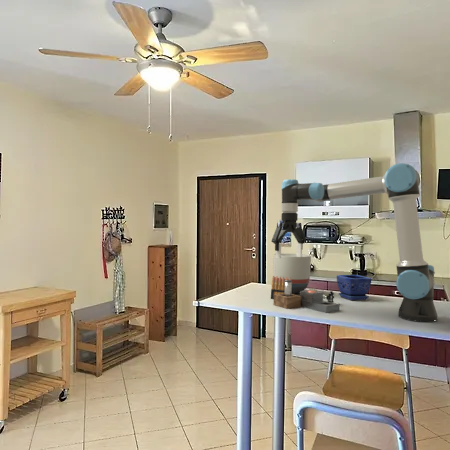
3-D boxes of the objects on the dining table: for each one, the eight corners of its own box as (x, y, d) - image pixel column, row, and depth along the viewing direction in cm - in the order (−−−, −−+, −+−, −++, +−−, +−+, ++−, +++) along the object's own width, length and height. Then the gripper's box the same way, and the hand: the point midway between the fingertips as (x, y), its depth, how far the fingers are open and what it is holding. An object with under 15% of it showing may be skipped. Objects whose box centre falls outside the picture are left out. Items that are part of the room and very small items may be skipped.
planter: (308, 297, 213) (309, 257, 213) (269, 295, 219) (270, 255, 218) (311, 291, 232) (312, 254, 232) (275, 289, 238) (276, 252, 238)
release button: (316, 298, 191) (317, 291, 191) (311, 299, 189) (311, 291, 189) (311, 297, 194) (311, 290, 194) (305, 298, 192) (306, 290, 192)
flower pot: (355, 295, 223) (356, 274, 223) (371, 300, 210) (372, 277, 210) (335, 296, 219) (335, 274, 219) (350, 301, 206) (350, 278, 206)
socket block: (339, 310, 184) (340, 295, 183) (326, 312, 178) (326, 297, 178) (309, 303, 198) (310, 289, 198) (296, 305, 193) (297, 290, 193)
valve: (306, 302, 201) (329, 305, 194) (306, 289, 201) (329, 292, 194) (311, 300, 207) (334, 303, 200) (311, 287, 207) (334, 290, 200)
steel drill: (293, 305, 191) (293, 280, 191) (287, 306, 189) (287, 281, 189) (288, 304, 194) (288, 279, 194) (282, 305, 192) (282, 280, 192)
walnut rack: (300, 306, 190) (300, 296, 190) (286, 308, 185) (287, 297, 185) (287, 303, 198) (287, 292, 198) (273, 305, 192) (273, 294, 192)
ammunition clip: (291, 300, 205) (292, 276, 205) (290, 301, 203) (291, 277, 203) (271, 298, 209) (272, 275, 209) (270, 299, 208) (271, 275, 207)
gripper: (302, 213, 201) (301, 255, 201) (264, 211, 187) (263, 257, 187) (313, 213, 195) (313, 257, 195) (275, 211, 181) (274, 259, 181)
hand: (288, 257), depth 191 cm, fingers open, 13 cm apart
